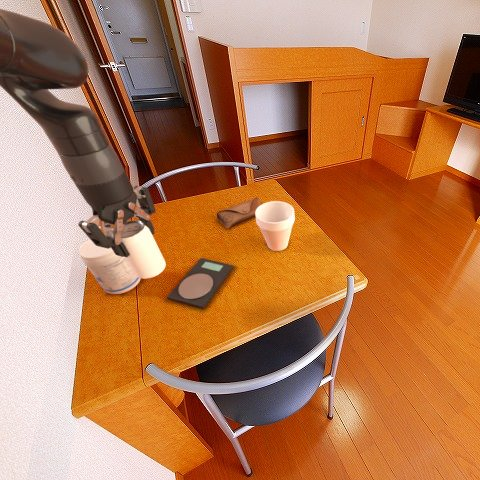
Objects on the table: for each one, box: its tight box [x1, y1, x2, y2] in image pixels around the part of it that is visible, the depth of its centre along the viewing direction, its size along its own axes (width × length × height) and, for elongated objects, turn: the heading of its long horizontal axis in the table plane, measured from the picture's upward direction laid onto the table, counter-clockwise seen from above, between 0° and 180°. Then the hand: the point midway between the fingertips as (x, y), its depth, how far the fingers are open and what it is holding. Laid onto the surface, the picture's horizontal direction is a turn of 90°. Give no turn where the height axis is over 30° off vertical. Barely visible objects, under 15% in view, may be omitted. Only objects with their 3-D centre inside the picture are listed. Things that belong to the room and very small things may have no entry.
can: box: [121, 219, 167, 280], centre depth 59 cm, size 6×6×12 cm
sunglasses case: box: [216, 197, 263, 229], centre depth 106 cm, size 18×7×7 cm, turn 133°
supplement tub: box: [77, 233, 142, 295], centre depth 75 cm, size 10×10×15 cm
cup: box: [255, 200, 296, 252], centre depth 90 cm, size 12×12×14 cm
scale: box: [166, 257, 234, 310], centre depth 80 cm, size 16×11×2 cm
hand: (137, 244), depth 58 cm, fingers closed on can, 6 cm apart
